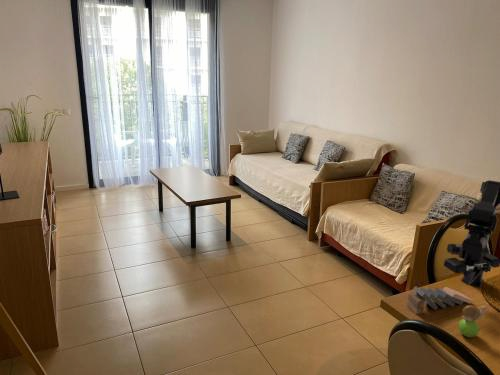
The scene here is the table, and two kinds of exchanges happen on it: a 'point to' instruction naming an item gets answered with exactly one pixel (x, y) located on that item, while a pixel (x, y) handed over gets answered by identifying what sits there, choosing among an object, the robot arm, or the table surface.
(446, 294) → the domino
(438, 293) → the domino
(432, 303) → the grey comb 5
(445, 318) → the table surface
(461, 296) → the domino
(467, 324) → the snail figurine
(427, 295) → the domino
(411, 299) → the stop block
